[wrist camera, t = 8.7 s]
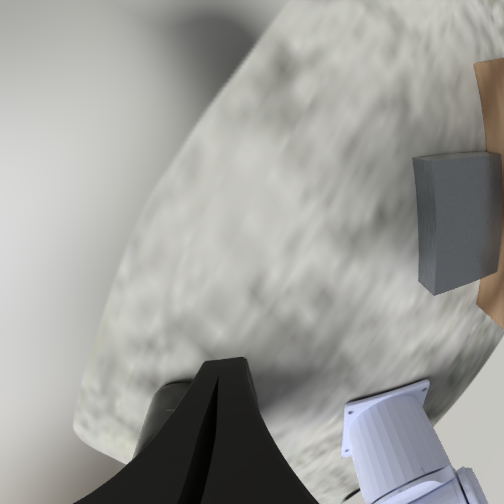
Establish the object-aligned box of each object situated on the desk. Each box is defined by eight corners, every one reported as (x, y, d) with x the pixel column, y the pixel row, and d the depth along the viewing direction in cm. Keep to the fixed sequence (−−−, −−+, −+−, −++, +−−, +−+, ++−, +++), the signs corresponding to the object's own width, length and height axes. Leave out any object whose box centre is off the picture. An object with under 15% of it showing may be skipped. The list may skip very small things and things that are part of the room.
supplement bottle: (217, 371, 20) (201, 532, 8) (247, 424, 22) (247, 552, 11) (136, 383, 20) (91, 515, 9) (174, 432, 23) (153, 546, 11)
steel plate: (477, 258, 17) (497, 272, 15) (415, 278, 18) (433, 295, 15) (476, 150, 15) (500, 154, 12) (409, 157, 15) (432, 161, 13)
